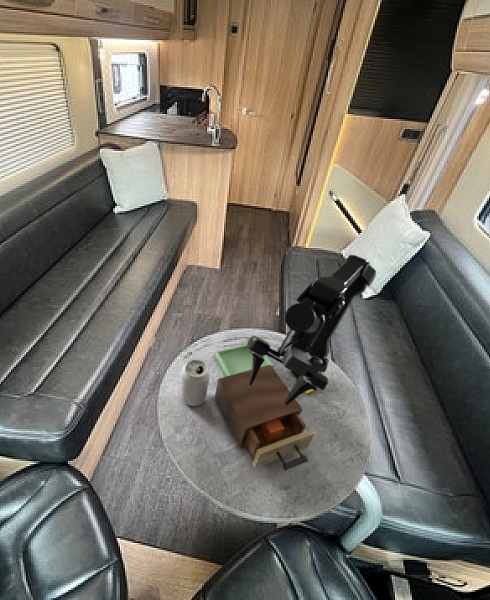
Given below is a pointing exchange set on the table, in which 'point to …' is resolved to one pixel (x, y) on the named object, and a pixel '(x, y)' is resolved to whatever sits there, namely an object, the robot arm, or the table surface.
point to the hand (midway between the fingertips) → (267, 394)
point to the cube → (272, 430)
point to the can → (194, 382)
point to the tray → (238, 359)
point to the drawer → (280, 443)
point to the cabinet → (253, 400)
